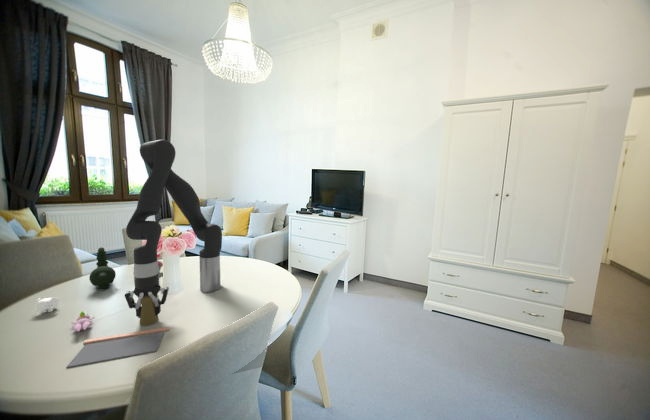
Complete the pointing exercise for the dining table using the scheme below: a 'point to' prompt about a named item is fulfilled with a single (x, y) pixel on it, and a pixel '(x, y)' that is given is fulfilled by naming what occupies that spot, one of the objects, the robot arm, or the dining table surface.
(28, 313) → the dining table surface
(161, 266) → the cupcake
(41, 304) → the elephant figurine
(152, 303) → the cork
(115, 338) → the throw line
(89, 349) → the mat
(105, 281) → the dark green rounded piece
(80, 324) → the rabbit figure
